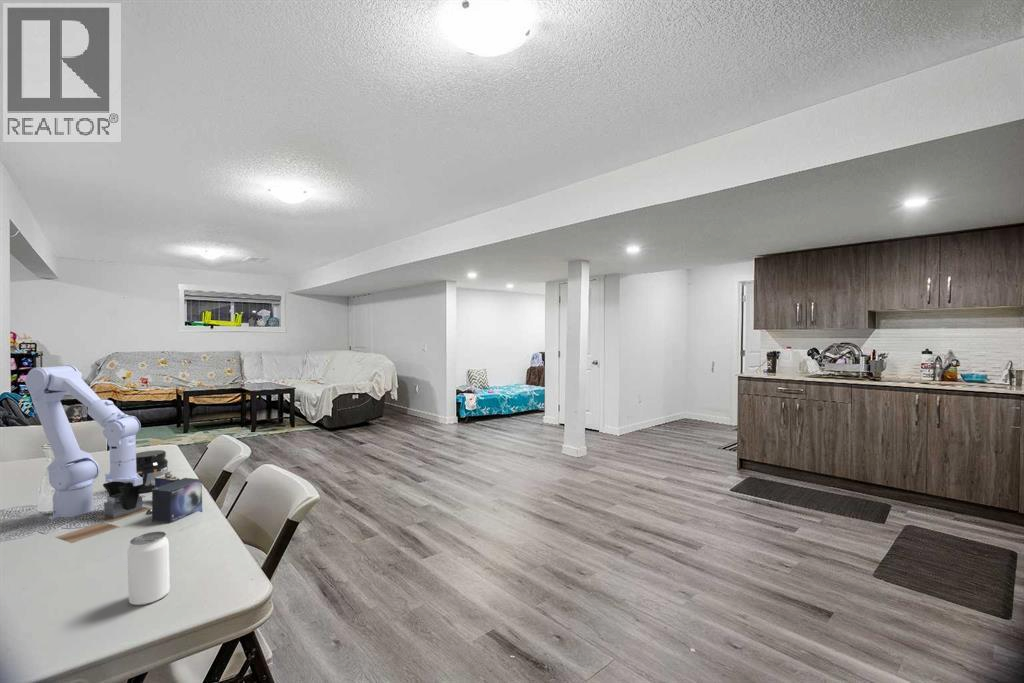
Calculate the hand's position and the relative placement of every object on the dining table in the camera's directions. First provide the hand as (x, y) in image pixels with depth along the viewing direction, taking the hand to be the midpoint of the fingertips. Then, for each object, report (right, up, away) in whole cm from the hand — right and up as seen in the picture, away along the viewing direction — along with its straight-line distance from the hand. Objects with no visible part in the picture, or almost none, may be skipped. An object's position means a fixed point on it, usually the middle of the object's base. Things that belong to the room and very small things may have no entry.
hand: (124, 507), depth 132 cm
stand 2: (0, -3, 0) cm, 3 cm away
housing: (0, -2, 0) cm, 2 cm away
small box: (+17, -3, -2) cm, 17 cm away
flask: (+6, -3, +9) cm, 11 cm away
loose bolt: (+11, -3, 0) cm, 11 cm away
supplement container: (-13, -3, +25) cm, 29 cm away
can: (+38, -4, -40) cm, 55 cm away
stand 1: (+1, -3, -12) cm, 13 cm away
